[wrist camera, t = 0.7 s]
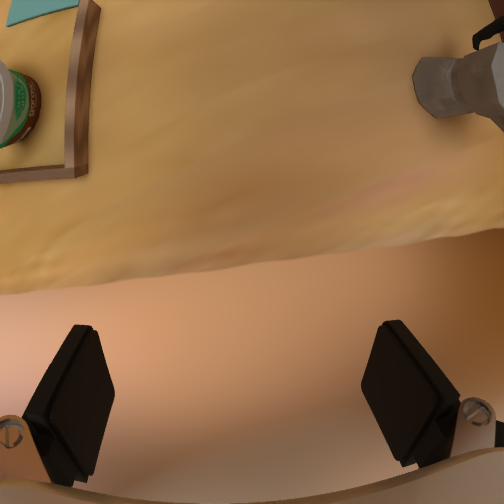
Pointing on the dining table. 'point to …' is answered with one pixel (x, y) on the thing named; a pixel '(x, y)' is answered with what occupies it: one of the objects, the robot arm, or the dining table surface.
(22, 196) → the dining table surface
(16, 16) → the mat
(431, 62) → the coffeepot
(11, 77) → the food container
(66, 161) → the frame
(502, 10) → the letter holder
